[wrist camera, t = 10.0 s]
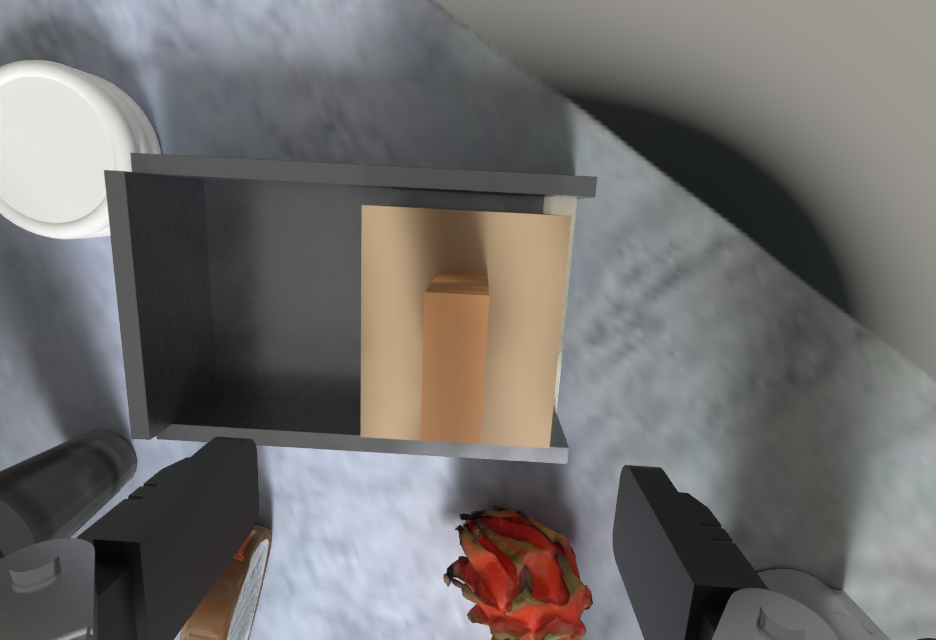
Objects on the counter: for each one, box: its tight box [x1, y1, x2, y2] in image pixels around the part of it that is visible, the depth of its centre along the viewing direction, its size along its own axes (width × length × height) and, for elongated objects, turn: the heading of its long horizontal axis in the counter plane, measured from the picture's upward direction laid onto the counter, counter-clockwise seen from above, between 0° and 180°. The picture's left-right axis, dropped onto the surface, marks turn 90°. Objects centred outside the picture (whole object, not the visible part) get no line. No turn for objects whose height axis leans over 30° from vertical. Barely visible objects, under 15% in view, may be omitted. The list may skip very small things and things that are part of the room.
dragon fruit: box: [444, 505, 593, 640], centre depth 34 cm, size 8×8×12 cm
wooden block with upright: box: [361, 205, 571, 448], centre depth 26 cm, size 10×12×13 cm
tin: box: [180, 525, 272, 640], centre depth 34 cm, size 15×3×8 cm, turn 164°
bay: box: [104, 153, 597, 464], centre depth 29 cm, size 24×16×8 cm, turn 87°
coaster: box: [0, 60, 161, 239], centre depth 30 cm, size 10×10×4 cm
